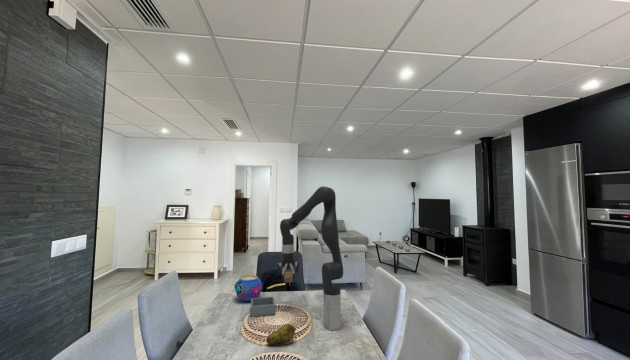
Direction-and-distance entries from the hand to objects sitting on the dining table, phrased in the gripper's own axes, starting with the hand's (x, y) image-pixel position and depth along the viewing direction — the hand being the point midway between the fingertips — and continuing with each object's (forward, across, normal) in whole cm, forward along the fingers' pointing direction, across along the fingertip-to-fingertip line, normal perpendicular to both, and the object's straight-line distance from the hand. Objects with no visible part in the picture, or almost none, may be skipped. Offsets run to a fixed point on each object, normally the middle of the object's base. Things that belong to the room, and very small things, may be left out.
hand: (288, 280), depth 161 cm
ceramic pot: (+19, -24, +27) cm, 41 cm away
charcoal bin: (+19, -15, +5) cm, 25 cm away
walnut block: (+1, 0, 0) cm, 1 cm away
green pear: (+19, -7, -33) cm, 39 cm away
